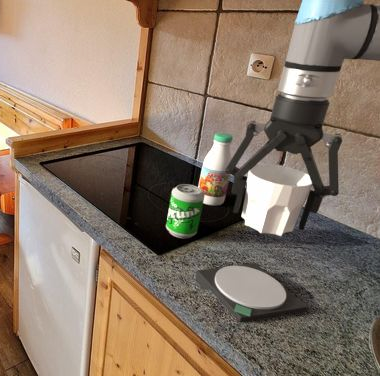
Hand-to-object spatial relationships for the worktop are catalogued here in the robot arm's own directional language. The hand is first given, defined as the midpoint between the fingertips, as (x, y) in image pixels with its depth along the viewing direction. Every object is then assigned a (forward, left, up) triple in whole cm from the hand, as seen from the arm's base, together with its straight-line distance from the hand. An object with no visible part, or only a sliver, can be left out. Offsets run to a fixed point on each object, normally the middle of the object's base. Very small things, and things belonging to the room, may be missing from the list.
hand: (267, 217), depth 74 cm
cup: (0, 0, -1) cm, 1 cm away
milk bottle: (+39, -17, -17) cm, 46 cm away
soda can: (+24, +1, -17) cm, 29 cm away
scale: (-1, +1, -17) cm, 17 cm away
